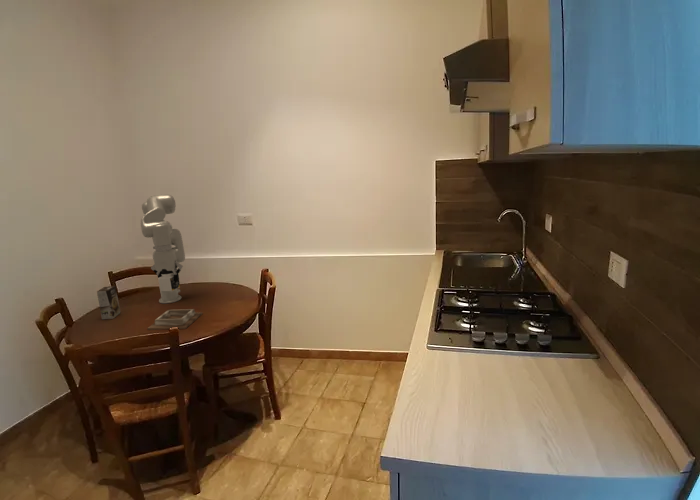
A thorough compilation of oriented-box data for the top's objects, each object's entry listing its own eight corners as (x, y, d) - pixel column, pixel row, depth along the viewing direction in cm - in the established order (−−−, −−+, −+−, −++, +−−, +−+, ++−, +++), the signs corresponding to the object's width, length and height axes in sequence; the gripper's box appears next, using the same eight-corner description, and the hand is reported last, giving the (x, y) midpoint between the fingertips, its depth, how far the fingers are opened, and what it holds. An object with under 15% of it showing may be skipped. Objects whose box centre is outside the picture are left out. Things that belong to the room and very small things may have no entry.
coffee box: (113, 318, 237) (108, 290, 233) (101, 319, 236) (95, 291, 233) (121, 312, 246) (115, 285, 242) (109, 313, 245) (104, 286, 242)
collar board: (167, 315, 237) (166, 308, 236) (202, 313, 235) (201, 307, 234) (147, 329, 218) (146, 322, 217) (185, 328, 216) (184, 321, 215)
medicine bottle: (172, 291, 218) (168, 268, 215) (159, 291, 220) (155, 268, 217) (180, 287, 225) (177, 264, 222) (168, 286, 226) (164, 264, 224)
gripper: (143, 250, 215) (149, 284, 219) (176, 249, 213) (182, 283, 217) (151, 247, 222) (156, 280, 226) (183, 245, 220) (188, 279, 224)
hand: (169, 281), depth 221 cm, fingers closed on medicine bottle, 7 cm apart
